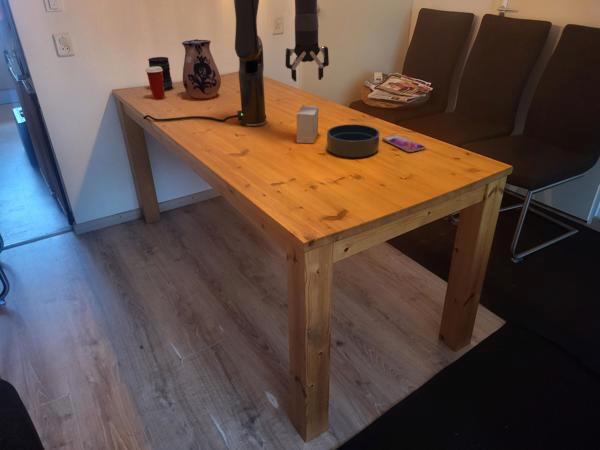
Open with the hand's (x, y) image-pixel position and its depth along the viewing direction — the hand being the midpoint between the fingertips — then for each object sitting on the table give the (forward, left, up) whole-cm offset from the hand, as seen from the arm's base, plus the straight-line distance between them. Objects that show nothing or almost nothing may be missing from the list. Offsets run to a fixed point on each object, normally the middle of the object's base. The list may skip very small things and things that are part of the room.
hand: (307, 80), depth 153 cm
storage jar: (-61, +89, -21) cm, 110 cm away
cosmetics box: (0, 0, -21) cm, 21 cm away
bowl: (+13, -14, -21) cm, 28 cm away
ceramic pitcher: (-40, +70, -21) cm, 83 cm away
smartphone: (+31, -13, -21) cm, 39 cm away
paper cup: (-61, +71, -21) cm, 96 cm away
